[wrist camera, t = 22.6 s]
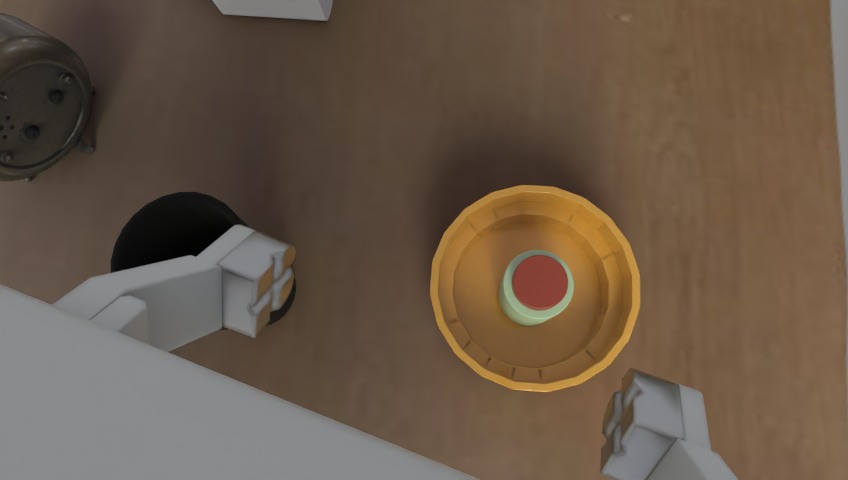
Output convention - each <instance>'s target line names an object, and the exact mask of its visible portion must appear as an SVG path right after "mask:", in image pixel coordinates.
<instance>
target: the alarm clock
mask: <svg viewBox="0 0 848 480" xmlns="http://www.w3.org/2000/svg"><path fill="white" fill-rule="evenodd" d="M94 93H95V88H94V87H91V82H90V78H89V74H88V72H87V69H86V67H85V65H84V63H83V62H82V60H81V59H80V57H79V56H78V55H77V54H76V53H75V52H74V51H73V50H72V49H71V48H70V47H69V46H67V45H66V44H65V43H63V42H61V41H60V40H58V39H56V38H54V37H52V36H50V35H49V34H47V33H45V32H43V31H41V30H39V29H37V28H35V27H33V26H32V25H30V24H28V23H26V22H24V21H22V20H20V19H18V18H16V17H13V16H10V15H6V14H2V13H0V181H14V180H20V179H24V180H25V181H28V182H30V181H32V180H33V178H32V176H33V175H36V174H38V173H40V172H42V171H44V170H46V169H48V168H49V167H51V166H52V165H54V164H55V163H57V162H58V161H59V160H60V159H62V158H63V157H64V156H65V155H66V154H67V153H68V152H69V151H70V150H71V149H72V148H73V147H75V148H77V149H79V150H80V151H82V152H84V153H86V154H92V153H93V152H94V148H93V147H92V146H90V145H88V144H87V143H85V142H84V141H82V140H81V138H80V136H81V134H82V132H83V130H84V128H85V126H86V124H87V121H88V118H89V115H90V111H91V105H92V94H94Z"/></svg>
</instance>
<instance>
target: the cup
mask: <svg viewBox="0 0 848 480" xmlns="http://www.w3.org/2000/svg"><path fill="white" fill-rule="evenodd" d="M239 224H240V225H242V226H245V227H248V228H250V227H249V226H248V225H247V224H246V223H245V222H244V221H243V220H241V219H240V218H239V217H238V216H237V215H236V214H235V213H234V212H233V211H232V210H231V209H230V208H229V207H228V206H227V205H226V204H225V203H223V202H221V201H219V200H217V199H216V198H214V197H212V196H209V195H205V194H201V193H197V192H178V193H174V194H170V195H166V196H162V197H160V198H158V199H156V200H154V201H152V202H150V203H148V204H147V205H145V206H144V207H143V208H142V209H140V210H139V211H138V212H137V213H136V214H134V215H133V216H132V218H131V219H130V220H129V221H128V223H127V224H126V225H125V226H124V228H123V229H122V231H121V233H120V235H119V237H118V239H117V241H116V243H115V246H114V250H113V254H112V258H111V273H113V272H118V271H122V270H126V269H131V268H135V267H140V266H144V265H148V264H153V263H157V262H162V261H166V260H171V259H175V258H179V257H184V256H188V255H192V256H195V257H196V256H198V255H199V254H200V253H201V252H202V251H204V250H205V249H206V248H207V247H209V246H210V245H211V244H212V243H213V242H215V241H216V240H217V239H218V238H219V237H221V236H222V235H223V234H224V233H225V232H227V231H228V230H229V229H230V228H232V227H233V226H234V225H239ZM250 229H251V228H250ZM295 291H296V285H295V278H294V281H293V285H292V289H291V292H290V294H289V296H288V298H287V300H286V302H285V303H284V304H283V305H282V307H281V308H280V309H278V310H275V311H272V312H270V321H269V322H268V323H267V324H266V326H267V325H270V324H272V323H274V322H276V321H278V320H279V319H280V318H281V317H282V316H284V315H285V314H286V312H287V311H288V310H289V308H290V307H291V305H292V302H293V300H294V296H295ZM225 329H228V328H226V327H223V326H222V328H221V329H219V330H225Z"/></svg>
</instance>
